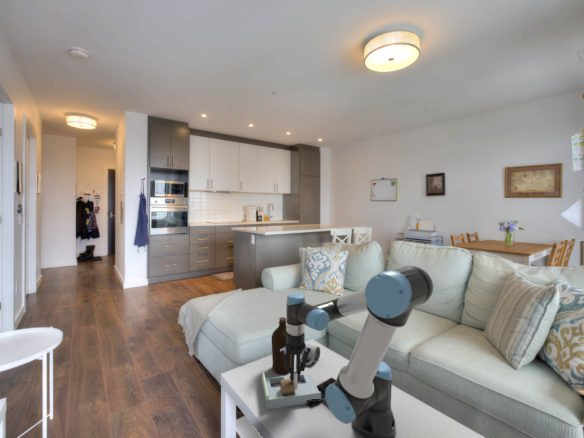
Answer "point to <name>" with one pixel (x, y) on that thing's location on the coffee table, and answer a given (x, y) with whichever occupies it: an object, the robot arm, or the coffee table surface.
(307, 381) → the board
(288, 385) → the brown block
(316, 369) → the coffee table surface
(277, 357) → the olive oil
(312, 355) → the ceramic mug
